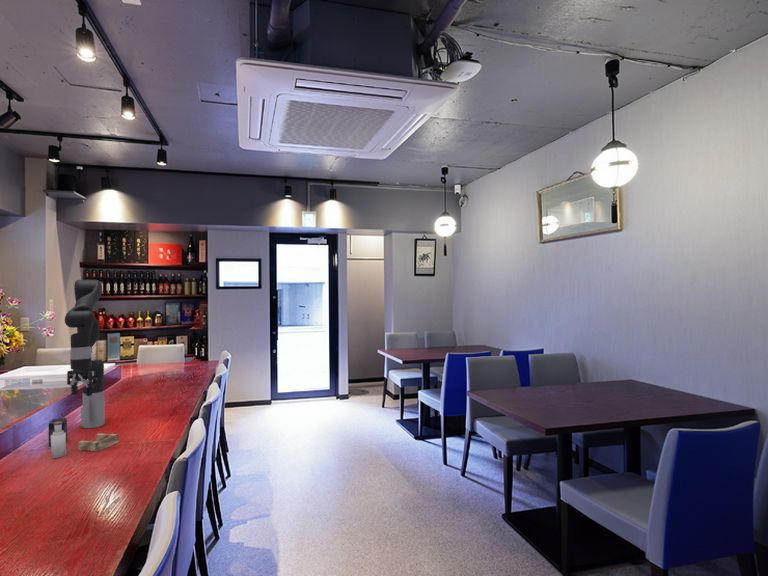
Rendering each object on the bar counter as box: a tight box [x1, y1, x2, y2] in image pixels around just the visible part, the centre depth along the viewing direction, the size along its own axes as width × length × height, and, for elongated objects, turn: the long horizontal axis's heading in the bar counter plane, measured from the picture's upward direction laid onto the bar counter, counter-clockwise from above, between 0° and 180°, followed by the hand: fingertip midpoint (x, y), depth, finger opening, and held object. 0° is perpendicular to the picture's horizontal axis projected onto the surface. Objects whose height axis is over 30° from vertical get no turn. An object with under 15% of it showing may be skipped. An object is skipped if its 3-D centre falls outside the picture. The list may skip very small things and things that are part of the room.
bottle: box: [50, 421, 67, 459], centre depth 185 cm, size 5×5×14 cm
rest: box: [77, 433, 119, 452], centre depth 196 cm, size 10×11×4 cm
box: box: [48, 417, 68, 448], centre depth 201 cm, size 8×6×11 cm
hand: (81, 395), depth 191 cm, fingers open, 8 cm apart
